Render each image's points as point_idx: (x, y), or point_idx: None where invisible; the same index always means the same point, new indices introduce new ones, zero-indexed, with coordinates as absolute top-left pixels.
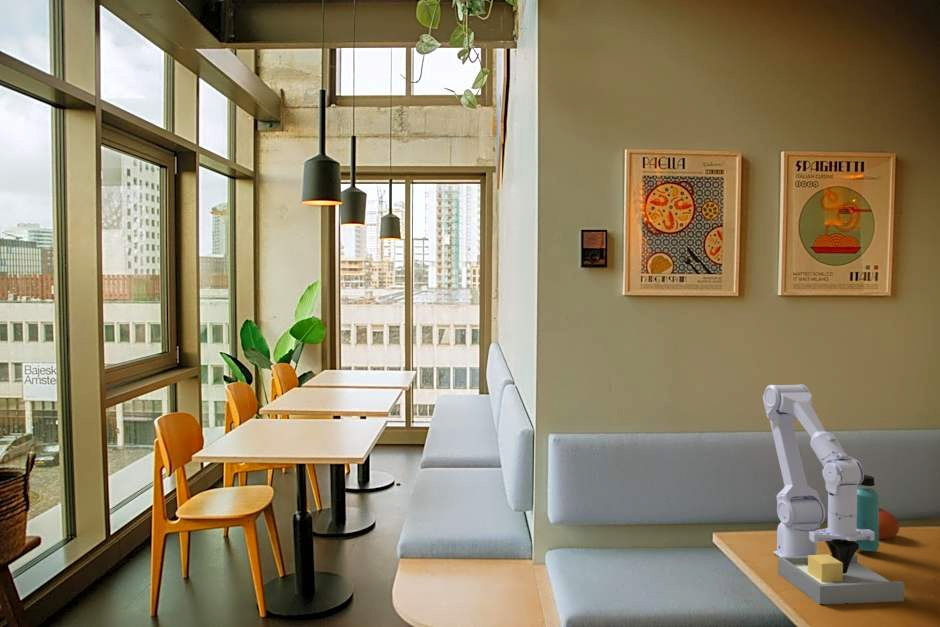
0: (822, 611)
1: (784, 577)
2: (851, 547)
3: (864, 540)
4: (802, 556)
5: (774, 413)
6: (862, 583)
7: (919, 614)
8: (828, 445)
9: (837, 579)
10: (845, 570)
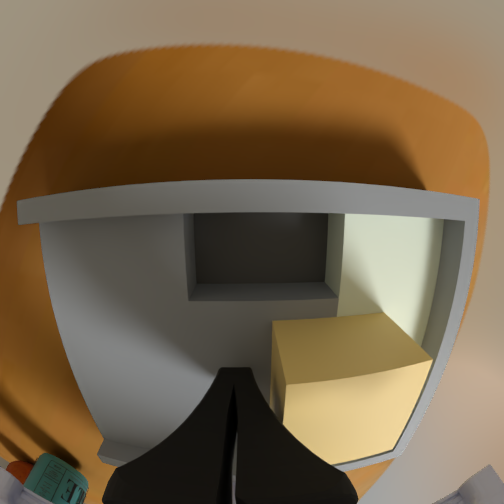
0: (443, 148)
1: None
2: (202, 493)
3: (59, 480)
4: None
5: None
6: (242, 194)
7: (91, 88)
8: None
9: (303, 323)
10: (230, 374)
